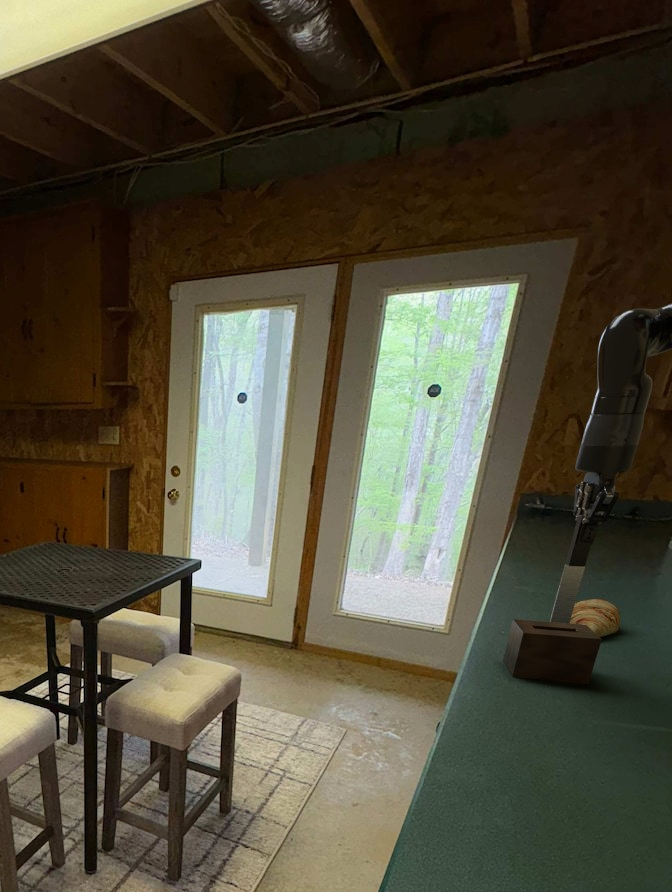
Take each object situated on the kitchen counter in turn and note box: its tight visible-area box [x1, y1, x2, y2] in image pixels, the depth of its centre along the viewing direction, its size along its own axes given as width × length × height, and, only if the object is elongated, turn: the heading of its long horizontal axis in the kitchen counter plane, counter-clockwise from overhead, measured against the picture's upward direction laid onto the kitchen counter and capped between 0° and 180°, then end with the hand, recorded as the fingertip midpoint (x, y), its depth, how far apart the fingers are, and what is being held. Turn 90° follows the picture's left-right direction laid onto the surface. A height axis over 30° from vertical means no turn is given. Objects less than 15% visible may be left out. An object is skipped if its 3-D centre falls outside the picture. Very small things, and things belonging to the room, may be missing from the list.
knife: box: [549, 514, 592, 623], centre depth 114 cm, size 3×2×20 cm, turn 68°
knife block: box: [502, 618, 603, 685], centre depth 120 cm, size 12×8×9 cm
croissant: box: [568, 598, 621, 638], centre depth 142 cm, size 21×10×8 cm, turn 141°
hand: (581, 543), depth 112 cm, fingers closed on knife, 2 cm apart
